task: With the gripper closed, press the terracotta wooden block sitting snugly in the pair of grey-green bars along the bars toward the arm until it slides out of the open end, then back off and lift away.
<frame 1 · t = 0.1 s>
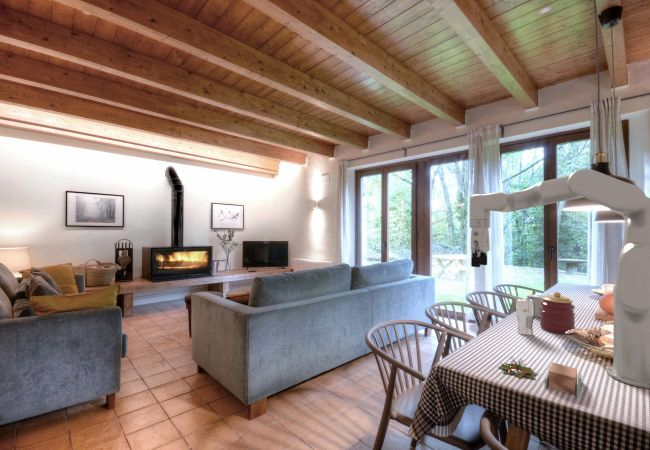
hand: (479, 265, 125), 31 cm above the table, tool pointing down, fingers open, 9 cm apart
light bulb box: (538, 316, 165), on the table
green twiggy clump: (517, 373, 99), on the table
terracotta block: (562, 386, 90), on the table
pair of grey-green bars: (563, 384, 91), on the table
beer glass: (525, 333, 136), on the table
canister: (557, 330, 141), on the table
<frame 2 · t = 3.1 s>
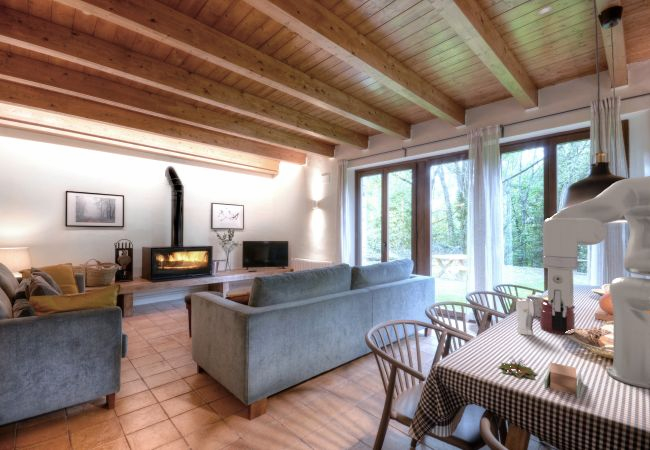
hand: (559, 330, 83), 19 cm above the table, tool pointing down, fingers closed
nothing on the table moved.
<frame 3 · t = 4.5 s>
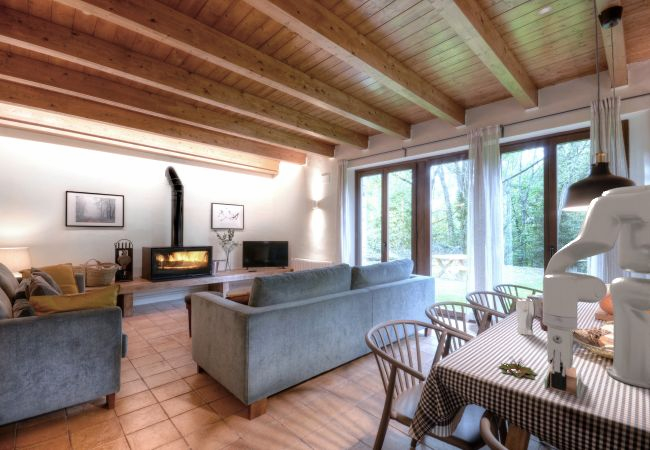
hand: (558, 388, 83), 3 cm above the table, tool pointing down, fingers closed
nothing on the table moved.
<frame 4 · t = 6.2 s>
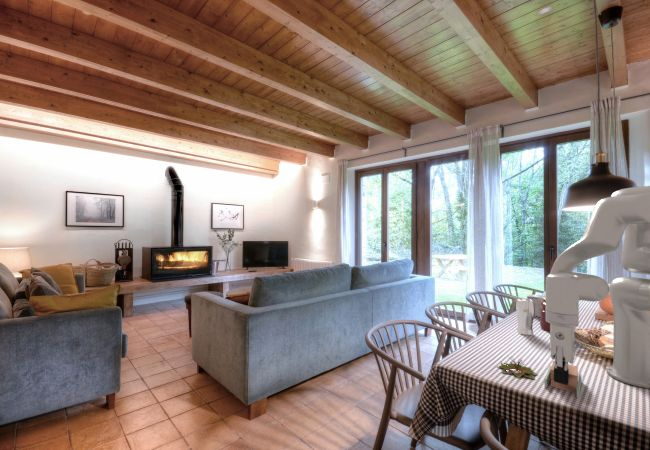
hand: (561, 382, 87), 3 cm above the table, tool pointing down, fingers closed
terracotta block: (564, 384, 91), on the table, touching gripper
everything else where it was.
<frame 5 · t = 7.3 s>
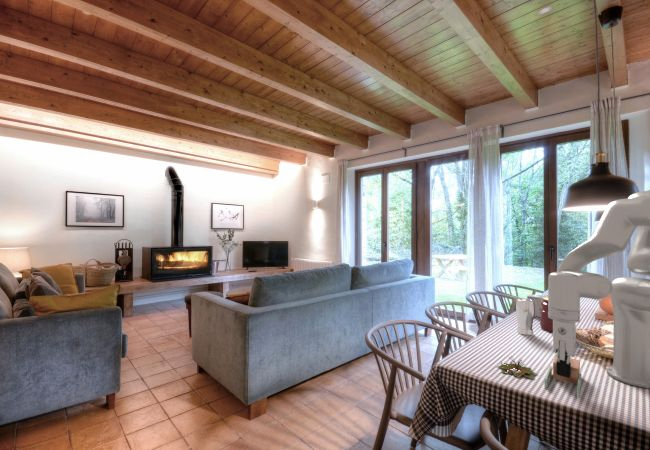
hand: (563, 375, 91), 3 cm above the table, tool pointing down, fingers closed
terracotta block: (566, 377, 95), on the table, touching gripper
everything else where it was.
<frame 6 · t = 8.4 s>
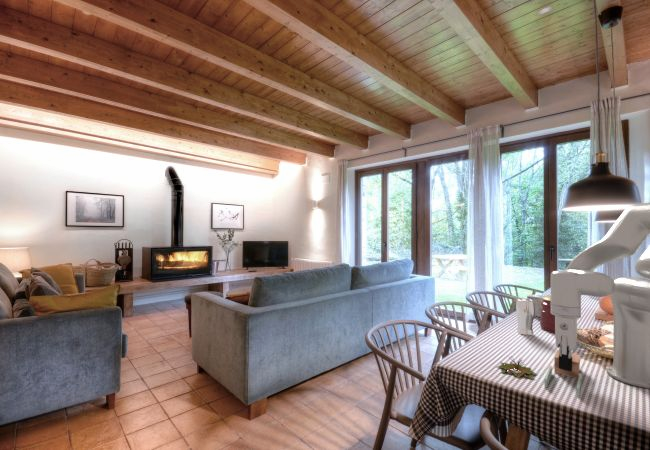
hand: (565, 369, 95), 3 cm above the table, tool pointing down, fingers closed
terracotta block: (567, 371, 100), on the table
everything else where it was.
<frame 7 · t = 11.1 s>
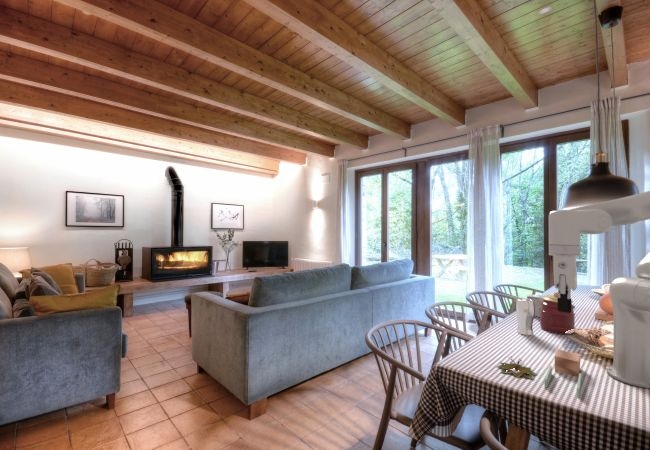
hand: (564, 311, 92), 22 cm above the table, tool pointing down, fingers closed
terracotta block: (567, 370, 101), on the table
everything else where it was.
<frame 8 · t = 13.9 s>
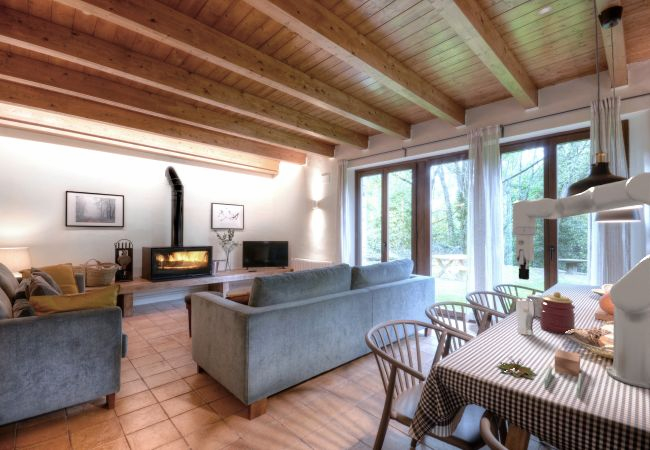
hand: (523, 279, 118), 27 cm above the table, tool pointing down, fingers closed
nothing on the table moved.
at the end: terracotta block inside the target area (0.3 cm from its centre), on the table; terracotta block tilted 0°; terracotta block moved 14.5 cm from its start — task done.
